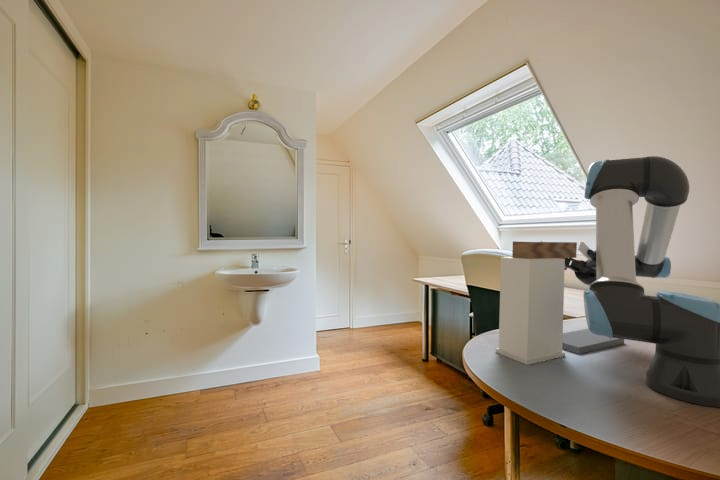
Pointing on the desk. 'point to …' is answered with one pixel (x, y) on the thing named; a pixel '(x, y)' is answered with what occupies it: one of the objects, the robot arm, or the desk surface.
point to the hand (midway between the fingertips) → (558, 244)
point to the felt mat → (587, 341)
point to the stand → (531, 309)
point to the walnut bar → (544, 250)
